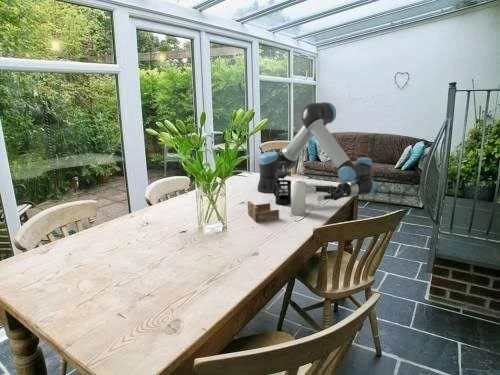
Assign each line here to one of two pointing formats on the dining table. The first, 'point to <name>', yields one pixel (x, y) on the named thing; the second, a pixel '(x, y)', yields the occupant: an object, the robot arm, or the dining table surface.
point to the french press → (283, 195)
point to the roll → (298, 197)
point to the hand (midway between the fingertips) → (310, 194)
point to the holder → (262, 212)
